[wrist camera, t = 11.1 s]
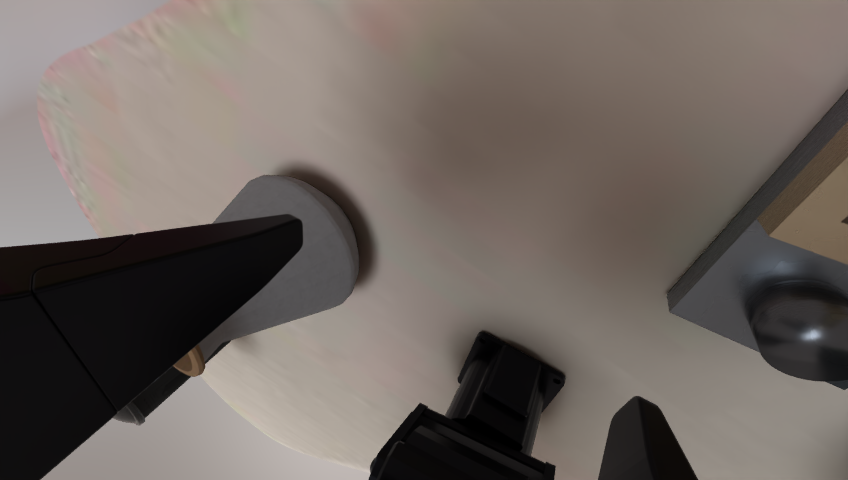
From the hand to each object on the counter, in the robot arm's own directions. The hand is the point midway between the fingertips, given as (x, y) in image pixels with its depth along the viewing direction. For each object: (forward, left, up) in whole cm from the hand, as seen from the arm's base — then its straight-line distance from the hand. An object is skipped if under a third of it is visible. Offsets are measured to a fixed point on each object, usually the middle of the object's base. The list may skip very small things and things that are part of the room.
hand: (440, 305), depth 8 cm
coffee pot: (-15, +18, -12) cm, 26 cm away
